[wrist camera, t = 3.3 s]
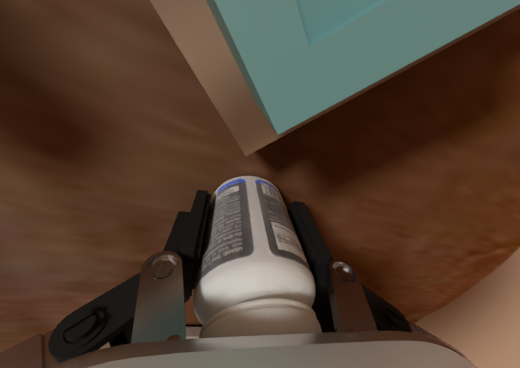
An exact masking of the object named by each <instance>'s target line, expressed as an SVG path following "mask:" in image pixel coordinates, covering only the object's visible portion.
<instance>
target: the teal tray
mask: <svg viewBox="0 0 520 368" xmlns="http://www.w3.org/2000/svg"><path fill="white" fill-rule="evenodd" d="M206 2H207V4H208V6H209V8H210V10H211V12H212V14H213V16H214V18H215V20H216V22H217V24H218V26H219V28H220V30H221V32H222V34H223V36H224V38H225V41H226V43H227V45H228V47H229V49H230V51H231V53H232V55H233V57H234V59H235V61H236V63H237V65H238V67H239V69H240V71H241V73H242V75H243V77H244V79H245V81H246V83H247V86H248V88H249V90H250V92H251V94H252V96H253V98H254V100H255V102H256V104H257V105H258V107H259V108H260V110H261V111H262V113H263V114H264V116H265V117H266V119H267V120H268V121H269V123H270V124H271V126H272V127H273V129H274V130H275V132H276V133H277V135H279V134H281V133H283V132H284V131H286V130H288V129H290V128H292V127H294V126H295V125H297V124H299V123H301V122H303V121H305V120H307V119H308V118H310V117H312V116H314V115H316V114H318V113H319V112H321V111H323V110H325V109H327V108H329V107H331V106H332V105H334V104H336V103H338V102H340V101H342V100H344V99H345V98H347V97H349V96H351V95H353V94H355V93H356V92H358V91H360V90H362V89H364V88H366V87H368V86H369V85H371V84H373V83H375V82H377V81H379V80H380V79H382V78H384V77H386V76H388V75H390V74H392V73H393V72H395V71H397V70H399V69H401V68H403V67H404V66H406V65H408V64H410V63H412V62H414V61H416V60H417V59H419V58H421V57H423V56H425V55H427V54H429V53H430V52H432V51H434V50H436V49H438V48H440V47H441V46H443V45H445V44H447V43H449V42H451V41H453V40H454V39H456V38H458V37H460V36H462V35H464V34H465V33H467V32H469V31H471V30H473V29H475V28H477V27H478V26H480V25H482V24H484V23H486V22H488V21H490V20H491V19H493V18H495V17H497V16H499V15H501V14H502V13H504V12H506V11H508V10H510V9H512V8H514V7H515V6H517V5H519V4H520V0H206Z"/></svg>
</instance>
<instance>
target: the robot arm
mask: <svg viewBox="0 0 520 368" xmlns="http://www.w3.org/2000/svg"><path fill="white" fill-rule="evenodd" d="M207 193H208V191H203V190H197V193H196V197H195V200H194V203H193V206H192V209H191V212H179V213H178V215H177V218H176V220H175V223H174V225H173V228H172V230H171V233H170V235H169V238H168V241H167V243H166V246H165V248H164V251H162V252H158V253H155V254H153V255H151V256H150V257H149V258H148V259H147V260H146V261H145V262H144V264H143V266H142V269H141V272H140V273H139V274H137V275H135V276H134V277H132V278H130V279H128V280H127V281H125V282H123V283H122V284H120V285H118V286H116V287H115V288H113V289H111V290H110V291H108V292H106V293H104V294H103V295H101V296H99V297H97V298H96V299H94V300H92V301H91V302H89V303H87V304H85V305H84V306H82V307H80V308H79V309H77V310H75V311H74V312H72V313H71V314H69V315H68V316H66V317H65V318H64V319H63V320H62V321H61V322H60V323H59V324H58V325H57V327H56V328H55V329H54V330H52V331H50V332H48V333H46V334H44V335H42V334H41V333H39V334H37V335H35V336H33V337H31V338H29V339H27V340H25V341H23V342H21V343H19V344H17V345H15V346H13V347H11V348H9V349H7V350H5V351H3V352H2V353H0V368H477V367H476V366H475V365H474V364H473V363H472V362H470V360H468V359H467V358H466V357H465V356H464V355H463V354H462V353H461V352H460V351H458V350H457V349H455V348H454V347H452V346H451V345H449V344H447V343H446V342H444V341H442V340H440V339H439V338H437V337H436V336H434V335H432V334H431V333H429V332H427V331H426V330H424V329H422V328H421V327H419V326H417V325H416V324H414V323H413V322H411V321H409V322H408V321H407V320H406V319H405V317H404V316H403V315H402V314H401V313H400V311H398V310H397V309H396V308H395V307H393V306H392V305H391V304H389V303H388V302H386V301H385V300H383V299H382V298H380V297H379V296H378V295H376V294H375V293H373V292H372V291H370V290H369V289H367V288H366V287H365V286H363V285H362V284H361V282H360V279H359V277H358V274H357V272H356V271H355V270H354V268H353V267H352V266H351V265H349V264H348V263H346V262H345V261H342V260H338V259H335V260H334V259H333V257H332V255H331V253H330V251H329V249H328V247H327V246H326V244H325V242H324V240H323V238H322V236H321V234H320V232H319V230H318V228H317V227H316V225H315V223H314V221H313V219H312V217H311V215H310V213H309V211H308V209H307V207H306V206H305V204H304V203H303V202H296V201H295V202H294V203H291V204H290V207H289V209H288V214H289V217H290V219H291V222H292V225H293V227H294V230H295V232H296V235H297V237H298V240H299V242H300V245H301V247H302V250H303V253H304V255H305V258H306V260H307V263H308V265H309V268H310V270H311V272H312V275H313V278H314V282H315V299H314V302H313V305H312V307H311V308H312V309H313V311H314V312H315V314H316V318H317V320H318V322H319V324H320V327H321V330H322V333H304V334H281V335H259V336H238V337H218V338H199V334H200V330H201V328H202V327H194V326H186V327H185V308H184V303H185V302H187V301H188V300H189V298H190V296H191V295H192V289H195V284H196V280H197V275H198V269H199V264H200V258H201V252H202V247H203V241H204V236H205V230H206V224H207V219H208V213H209V208H210V199H211V194H207Z"/></svg>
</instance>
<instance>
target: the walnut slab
mask: <svg viewBox="0 0 520 368" xmlns="http://www.w3.org/2000/svg"><path fill="white" fill-rule="evenodd" d="M150 2H151V3H152V5H153V6H154V8H155V10H156V11H157V13H158V15H159V16H160V18H161V19H162V21H163V23H164V24H165V26H166V28H167V29H168V31H169V32H170V34H171V36H172V37H173V39H174V41H175V42H176V44H177V45H178V47H179V49H180V50H181V52H182V54H183V55H184V57H185V58H186V60H187V62H188V63H189V65H190V67H191V68H192V70H193V72H194V73H195V75H196V76H197V78H198V80H199V81H200V83H201V85H202V86H203V88H204V89H205V91H206V93H207V94H208V96H209V98H210V99H211V101H212V102H213V104H214V106H215V107H216V109H217V111H218V112H219V114H220V115H221V117H222V119H223V120H224V122H225V124H226V125H227V127H228V128H229V130H230V132H231V133H232V135H233V137H234V138H235V140H236V141H237V143H238V145H239V146H240V148H241V150H242V151H243V153H244V154H245V156H247V155H249V154H251V153H253V152H255V151H257V150H258V149H260V148H262V147H264V146H266V145H268V144H270V143H271V142H273V141H275V140H277V139H279V138H281V137H283V136H284V135H286V134H288V133H290V132H292V131H294V130H296V129H297V128H299V127H301V126H303V125H305V124H307V123H309V122H310V121H312V120H314V119H316V118H318V117H320V116H322V115H323V114H325V113H327V112H329V111H331V110H333V109H335V108H336V107H338V106H340V105H342V104H344V103H346V102H348V101H349V100H351V99H353V98H355V97H357V96H359V95H361V94H362V93H364V92H366V91H368V90H370V89H372V88H373V87H375V86H377V85H379V84H381V83H383V82H385V81H386V80H388V79H390V78H392V77H394V76H396V75H398V74H399V73H401V72H403V71H405V70H407V69H409V68H411V67H412V66H414V65H416V64H418V63H420V62H422V61H424V60H425V59H427V58H429V57H431V56H433V55H435V54H437V53H438V52H440V51H442V50H444V49H446V48H448V47H450V46H451V45H453V44H455V43H457V42H459V41H461V40H463V39H464V38H466V37H468V36H470V35H472V34H474V33H476V32H477V31H479V30H481V29H483V28H485V27H487V26H489V25H490V24H492V23H494V22H496V21H498V20H500V19H502V18H503V17H505V16H507V15H509V14H511V13H513V12H515V11H516V10H518V9H520V4H519V5H517V6H515V7H514V8H512V9H510V10H508V11H506V12H504V13H502V14H501V15H499V16H497V17H495V18H493V19H491V20H490V21H488V22H486V23H484V24H482V25H480V26H478V27H477V28H475V29H473V30H471V31H469V32H467V33H465V34H464V35H462V36H460V37H458V38H456V39H454V40H453V41H451V42H449V43H447V44H445V45H443V46H441V47H440V48H438V49H436V50H434V51H432V52H430V53H429V54H427V55H425V56H423V57H421V58H419V59H417V60H416V61H414V62H412V63H410V64H408V65H406V66H404V67H403V68H401V69H399V70H397V71H395V72H393V73H392V74H390V75H388V76H386V77H384V78H382V79H380V80H379V81H377V82H375V83H373V84H371V85H369V86H368V87H366V88H364V89H362V90H360V91H358V92H356V93H355V94H353V95H351V96H349V97H347V98H345V99H344V100H342V101H340V102H338V103H336V104H334V105H332V106H331V107H329V108H327V109H325V110H323V111H321V112H319V113H318V114H316V115H314V116H312V117H310V118H308V119H307V120H305V121H303V122H301V123H299V124H297V125H295V126H294V127H292V128H290V129H288V130H286V131H284V132H283V133H281V134H279V135H277V133H276V132H275V130H274V129H273V127H272V126H271V124H270V123H269V121H268V120H267V119H266V117H265V116H264V114H263V113H262V111H261V110H260V108H259V107H258V105H257V104H256V102H255V100H254V98H253V96H252V94H251V92H250V90H249V88H248V86H247V83H246V81H245V79H244V77H243V75H242V73H241V71H240V69H239V67H238V65H237V63H236V61H235V59H234V57H233V55H232V53H231V51H230V49H229V47H228V45H227V43H226V41H225V38H224V36H223V34H222V32H221V30H220V28H219V26H218V24H217V22H216V20H215V18H214V16H213V14H212V12H211V10H210V8H209V6H208V4H207V2H206V0H150Z"/></svg>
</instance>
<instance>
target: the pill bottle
mask: <svg viewBox="0 0 520 368" xmlns="http://www.w3.org/2000/svg"><path fill="white" fill-rule="evenodd" d="M314 299H315V282H314V278H313V275H312V272H311V270H310V268H309V265H308V263H307V260H306V258H305V255H304V253H303V250H302V247H301V245H300V242H299V240H298V237H297V235H296V232H295V230H294V227H293V225H292V222H291V219H290V217H289V214H288V211H287V209H286V206H285V204H284V201H283V198H282V196H281V194H280V192H279V190H278V189H277V188H276V187H275V186H274V185H273V184H272V183H271V182H269V181H268V180H265V179H263V178H260V177H255V176H241V177H236V178H232V179H230V180H228V181H226V182H224V183H223V184H222V185H221V186H220V187H219V188H218V189H217V190H216V191H215V192H214V194H213V196H212V199H211V202H210V208H209V213H208V219H207V224H206V230H205V236H204V241H203V247H202V252H201V258H200V264H199V269H198V275H197V280H196V284H195V291H194V311H195V314H196V316H197V318H198V320H199V321H200V323H201V324H202V325H203V326H202V328H201V330H200V334H199V338H218V337H238V336H259V335H281V334H304V333H322V330H321V327H320V324H319V322H318V320H317V318H316V314H315V312H314V311H313V309H312V308H311V307H312V305H313V302H314Z"/></svg>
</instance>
